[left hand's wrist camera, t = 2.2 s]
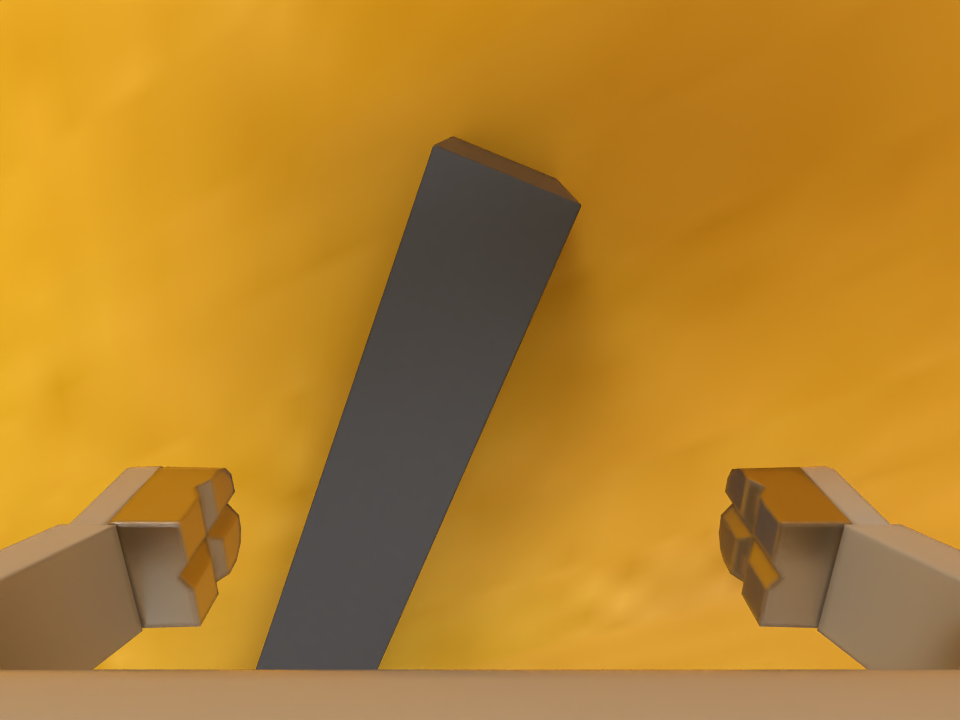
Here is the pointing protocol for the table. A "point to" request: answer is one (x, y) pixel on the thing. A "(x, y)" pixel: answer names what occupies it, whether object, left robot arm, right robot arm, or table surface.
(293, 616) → the bar
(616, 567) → the table surface
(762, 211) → the table surface
